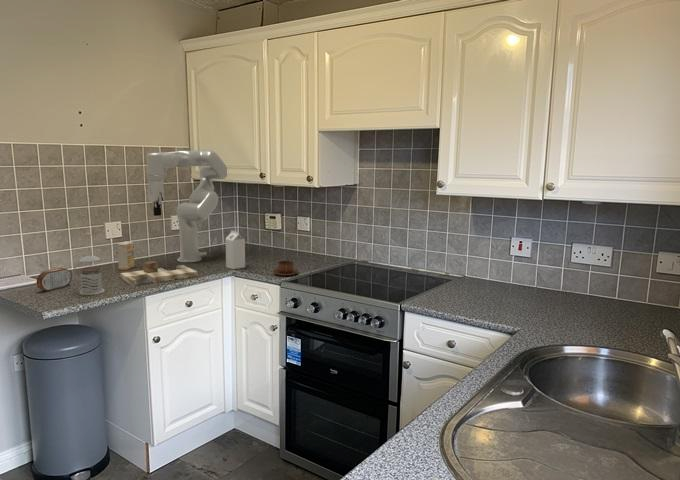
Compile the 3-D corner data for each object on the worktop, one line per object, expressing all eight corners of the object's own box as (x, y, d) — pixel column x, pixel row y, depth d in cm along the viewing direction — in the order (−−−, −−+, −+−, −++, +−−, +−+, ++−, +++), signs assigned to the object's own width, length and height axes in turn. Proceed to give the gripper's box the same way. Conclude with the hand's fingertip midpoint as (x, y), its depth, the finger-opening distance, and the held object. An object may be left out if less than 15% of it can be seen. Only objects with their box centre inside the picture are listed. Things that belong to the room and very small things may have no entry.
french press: (99, 294, 205) (95, 234, 201) (70, 295, 204) (65, 234, 200) (108, 288, 215) (105, 231, 210) (80, 288, 214) (76, 230, 210)
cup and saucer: (301, 275, 244) (301, 263, 243) (278, 278, 238) (278, 265, 237) (291, 270, 254) (291, 259, 253) (269, 273, 248) (269, 261, 247)
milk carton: (237, 265, 264) (237, 229, 261) (245, 267, 259) (244, 231, 256) (225, 267, 259) (225, 231, 256) (233, 269, 254) (232, 232, 251)
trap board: (183, 270, 251) (182, 265, 251) (197, 276, 238) (197, 271, 238) (120, 278, 232) (120, 273, 232) (132, 286, 219) (132, 280, 219)
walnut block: (152, 270, 239) (151, 260, 238) (157, 271, 236) (157, 262, 236) (143, 271, 235) (143, 262, 235) (149, 273, 233) (148, 263, 232)
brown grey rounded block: (68, 284, 221) (67, 265, 220) (73, 285, 220) (72, 266, 218) (36, 292, 207) (35, 272, 206) (42, 293, 206) (40, 273, 205)
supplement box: (128, 270, 249) (126, 244, 247) (118, 270, 249) (116, 244, 247) (135, 266, 257) (133, 241, 255) (125, 266, 257) (124, 241, 255)
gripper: (142, 177, 249) (144, 214, 252) (153, 179, 238) (155, 217, 241) (157, 177, 254) (159, 213, 257) (169, 178, 243) (170, 216, 246)
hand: (157, 215), depth 249 cm, fingers closed
